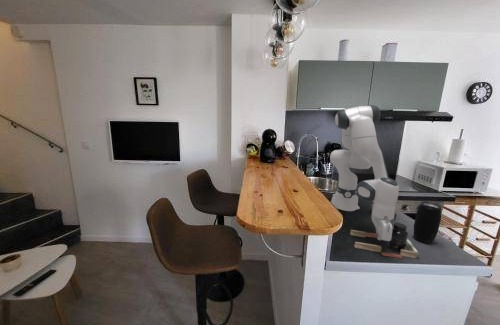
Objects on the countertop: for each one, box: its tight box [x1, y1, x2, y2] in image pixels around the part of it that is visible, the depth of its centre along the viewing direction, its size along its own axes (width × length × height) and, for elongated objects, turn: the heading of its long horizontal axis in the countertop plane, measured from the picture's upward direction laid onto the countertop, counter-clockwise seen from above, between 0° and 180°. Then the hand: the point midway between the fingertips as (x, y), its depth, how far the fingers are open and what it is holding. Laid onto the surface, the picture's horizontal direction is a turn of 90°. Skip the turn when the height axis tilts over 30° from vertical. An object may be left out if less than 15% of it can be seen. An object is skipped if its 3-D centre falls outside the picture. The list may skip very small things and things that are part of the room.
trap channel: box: [350, 229, 420, 260], centre depth 102 cm, size 18×26×2 cm
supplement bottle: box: [387, 222, 409, 253], centre depth 98 cm, size 7×7×12 cm
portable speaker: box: [413, 200, 442, 245], centre depth 105 cm, size 9×9×20 cm
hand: (378, 238), depth 101 cm, fingers closed
